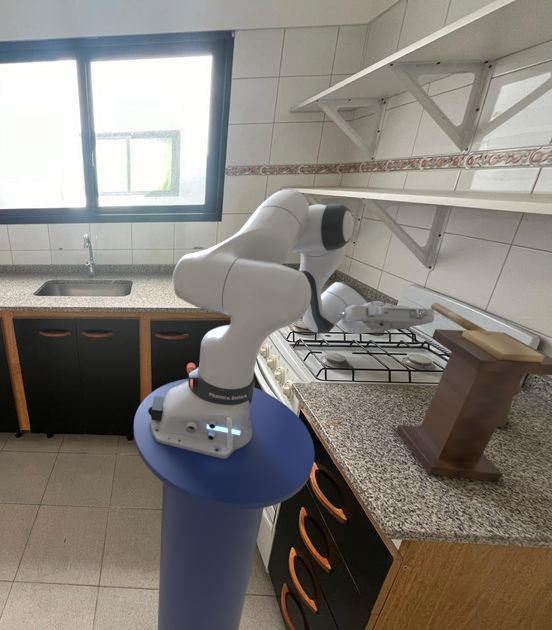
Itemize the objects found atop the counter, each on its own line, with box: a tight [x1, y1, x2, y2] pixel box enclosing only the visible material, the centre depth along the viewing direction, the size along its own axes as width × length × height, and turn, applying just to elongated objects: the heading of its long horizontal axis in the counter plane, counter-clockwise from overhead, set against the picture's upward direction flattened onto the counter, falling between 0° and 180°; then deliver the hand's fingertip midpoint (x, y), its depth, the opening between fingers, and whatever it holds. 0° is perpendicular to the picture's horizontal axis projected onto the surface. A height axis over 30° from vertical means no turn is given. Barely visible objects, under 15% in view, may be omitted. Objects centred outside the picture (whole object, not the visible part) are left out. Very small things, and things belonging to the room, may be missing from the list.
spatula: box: [430, 302, 545, 362], centre depth 67 cm, size 6×23×2 cm, turn 171°
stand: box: [395, 328, 552, 482], centre depth 67 cm, size 12×12×26 cm
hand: (405, 310), depth 86 cm, fingers open, 8 cm apart
